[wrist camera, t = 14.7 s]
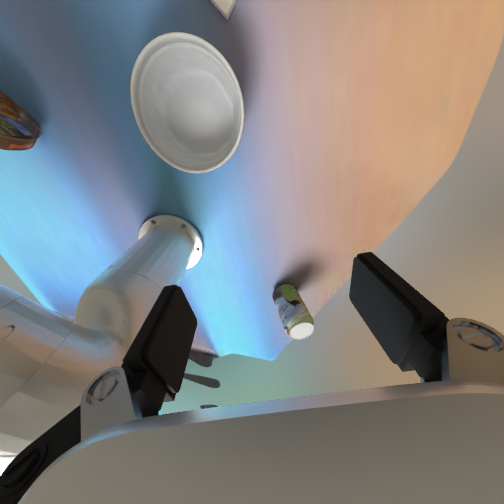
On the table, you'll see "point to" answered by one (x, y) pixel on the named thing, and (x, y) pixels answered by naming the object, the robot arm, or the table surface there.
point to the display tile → (224, 6)
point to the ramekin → (187, 102)
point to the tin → (16, 126)
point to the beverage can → (293, 312)
